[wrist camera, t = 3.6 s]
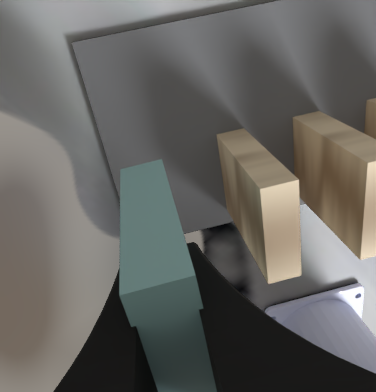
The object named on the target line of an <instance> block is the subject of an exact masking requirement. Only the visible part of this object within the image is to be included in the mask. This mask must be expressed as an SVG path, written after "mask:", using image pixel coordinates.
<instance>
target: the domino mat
mask: <svg viewBox="0 0 376 392" xmlns="http://www.w3.org/2000/svg"><path fill="white" fill-rule="evenodd" d="M72 46H73V49H74V52H75V56H76V59H77V62H78V65H79V69H80V72H81V75H82V78H83V82H84V85H85V88H86V91H87V95H88V98H89V101H90V105H91V108H92V111H93V114H94V118H95V121H96V124H97V127H98V131H99V134H100V137H101V140H102V144H103V147H104V150H105V153H106V157H107V160H108V163H109V166H110V170H111V173H112V176H113V180H114V183H115V186H116V189H117V193H118V196H119V199H120V169H123V168H128V167H132V166H136V165H140V164H144V163H148V162H152V161H156V160H160V159H162V161H163V165H164V168H165V172H166V175H167V179H168V182H169V185H170V189H171V192H172V196H173V199H174V203H175V206H176V210H177V213H178V216H179V220H180V223H181V227H182V230H183V234H186V233H190V232H193V231H198V230H202V229H206V228H210V227H214V226H218V225H222V224H226V223H230V222H234V221H233V219H232V218H231V216H230V214H229V212H228V210H227V206H226V199H225V191H224V184H223V177H222V170H221V163H220V156H219V149H218V142H217V135H216V134H221V133H225V132H229V131H234V130H238V129H243V128H244V129H245V130H246V131H247V132H248V133H250V134H251V135H252V136H253V137H254V138H255V139H256V140H257V141H258V142H259V143H260V144H261V145H262V146H263V147H265V148H266V149H267V150H268V151H269V152H270V153H271V154H272V155H273V156H274V157H275V158H276V159H277V160H278V161H279V162H281V163H282V164H283V165H284V166H285V167H286V168H287V169H288V170H289V171H290V172H291V173H292V174H293V175H294V176H295V173H294V142H293V117H295V116H299V115H304V114H308V113H312V112H317V111H320V112H322V113H324V114H326V115H328V116H330V117H332V118H334V119H336V120H338V121H340V122H342V123H344V124H346V125H348V126H350V127H352V128H354V129H356V130H358V131H360V132H362V133H364V130H365V115H366V101H367V100H369V99H374V98H376V0H277V1H272V2H267V3H262V4H257V5H252V6H248V7H243V8H238V9H233V10H228V11H223V12H218V13H213V14H208V15H203V16H198V17H194V18H189V19H184V20H179V21H174V22H169V23H164V24H159V25H154V26H149V27H144V28H140V29H135V30H130V31H125V32H120V33H115V34H110V35H105V36H100V37H95V38H90V39H86V40H81V41H76V42H72ZM299 201H300V205H303V204H305V203H304V202H303V201H302V199H301V198H300V197H299Z"/></svg>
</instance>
